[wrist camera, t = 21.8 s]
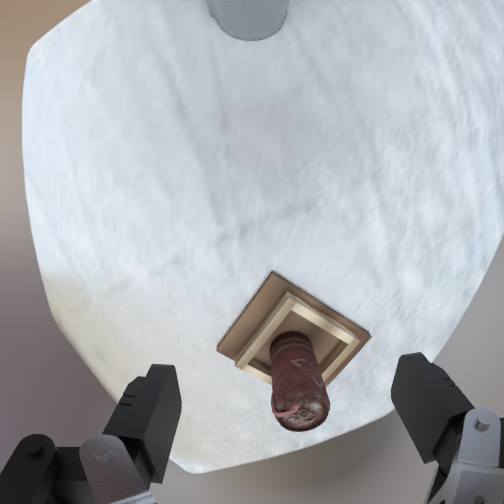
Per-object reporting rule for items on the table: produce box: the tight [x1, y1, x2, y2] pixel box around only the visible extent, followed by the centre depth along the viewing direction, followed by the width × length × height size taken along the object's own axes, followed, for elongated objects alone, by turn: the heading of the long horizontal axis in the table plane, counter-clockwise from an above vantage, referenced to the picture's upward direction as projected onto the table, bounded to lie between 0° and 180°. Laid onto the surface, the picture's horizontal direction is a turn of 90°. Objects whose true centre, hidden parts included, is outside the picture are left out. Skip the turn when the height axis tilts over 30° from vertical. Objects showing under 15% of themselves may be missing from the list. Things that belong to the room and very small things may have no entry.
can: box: [269, 332, 330, 432], centre depth 35 cm, size 6×6×14 cm
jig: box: [216, 271, 372, 388], centre depth 41 cm, size 18×14×4 cm
